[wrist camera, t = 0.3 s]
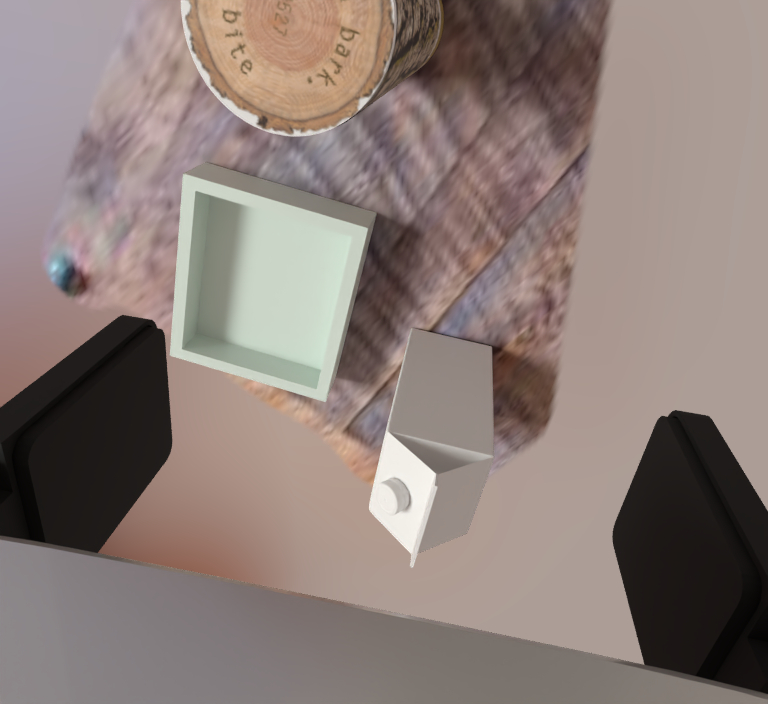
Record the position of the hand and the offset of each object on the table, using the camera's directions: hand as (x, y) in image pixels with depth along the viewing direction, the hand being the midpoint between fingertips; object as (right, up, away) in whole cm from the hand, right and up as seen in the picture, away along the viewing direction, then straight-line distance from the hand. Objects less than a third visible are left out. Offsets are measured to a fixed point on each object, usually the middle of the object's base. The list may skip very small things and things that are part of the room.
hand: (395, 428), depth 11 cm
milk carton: (+5, 0, +41) cm, 42 cm away
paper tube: (0, +24, +29) cm, 37 cm away
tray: (-9, +8, +39) cm, 41 cm away
